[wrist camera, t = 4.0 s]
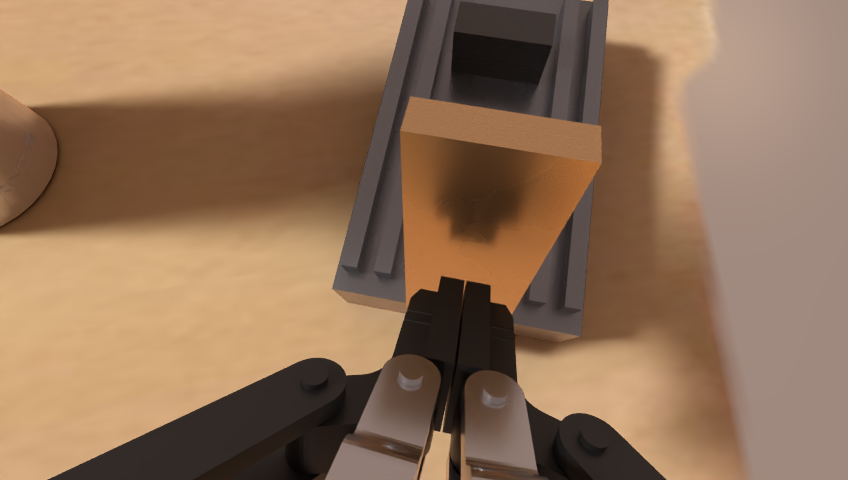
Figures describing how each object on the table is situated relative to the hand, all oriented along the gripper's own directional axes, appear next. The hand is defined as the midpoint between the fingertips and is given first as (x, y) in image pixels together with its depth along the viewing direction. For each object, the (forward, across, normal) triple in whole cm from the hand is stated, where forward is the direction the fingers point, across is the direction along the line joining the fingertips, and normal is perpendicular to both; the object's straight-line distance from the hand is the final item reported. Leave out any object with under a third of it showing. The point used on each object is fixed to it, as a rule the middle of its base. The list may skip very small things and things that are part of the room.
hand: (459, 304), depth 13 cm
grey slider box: (+16, 0, 0) cm, 16 cm away
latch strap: (+3, 0, 0) cm, 3 cm away
